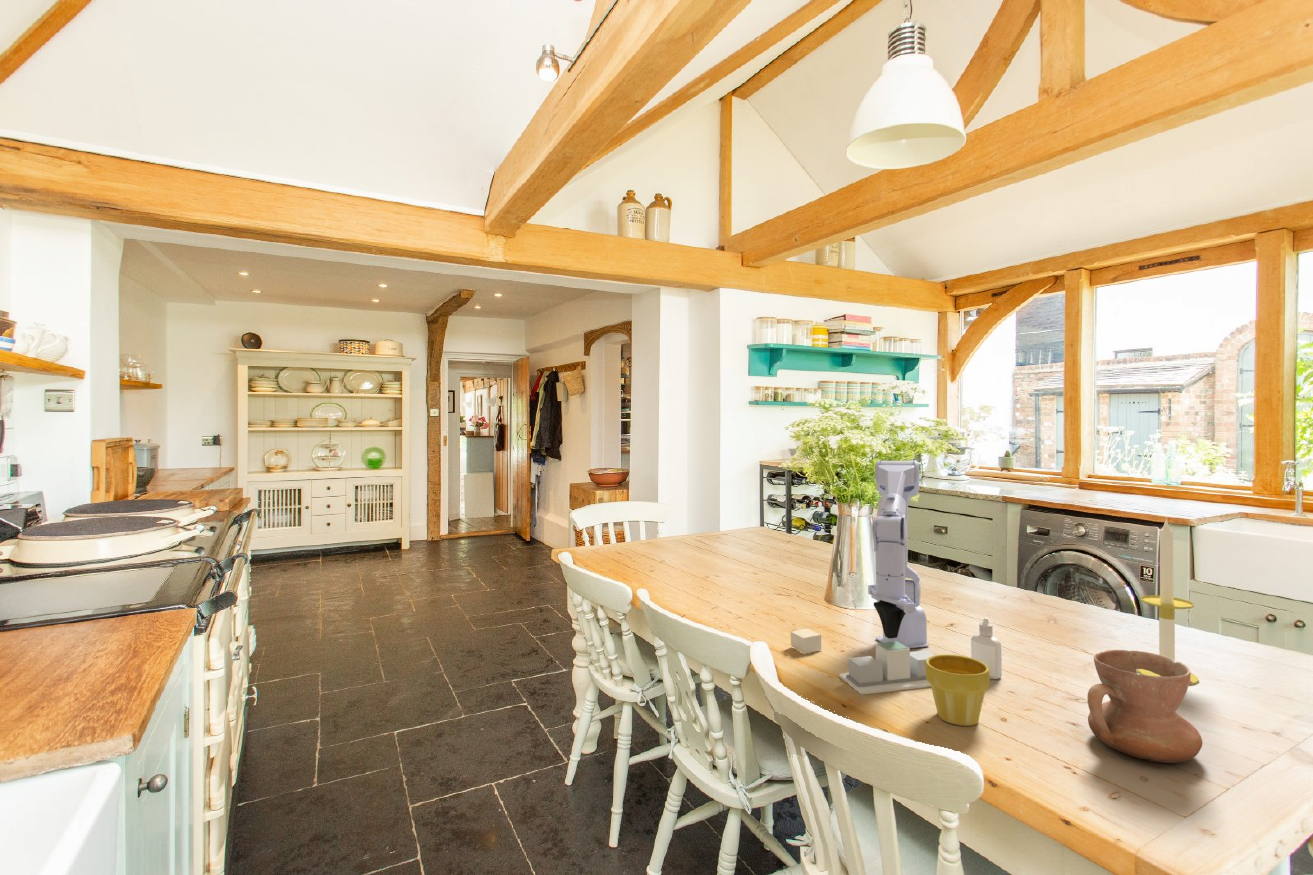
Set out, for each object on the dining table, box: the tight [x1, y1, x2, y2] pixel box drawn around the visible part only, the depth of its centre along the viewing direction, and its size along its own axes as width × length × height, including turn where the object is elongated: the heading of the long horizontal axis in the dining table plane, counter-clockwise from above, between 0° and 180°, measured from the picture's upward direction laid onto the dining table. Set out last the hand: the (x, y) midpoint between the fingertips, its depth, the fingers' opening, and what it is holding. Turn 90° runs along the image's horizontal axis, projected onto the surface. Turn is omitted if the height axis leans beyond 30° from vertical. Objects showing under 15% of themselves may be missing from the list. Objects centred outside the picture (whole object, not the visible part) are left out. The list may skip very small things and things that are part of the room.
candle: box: [1136, 518, 1200, 686], centre depth 128 cm, size 10×10×32 cm
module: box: [875, 641, 911, 680], centre depth 128 cm, size 5×4×6 cm
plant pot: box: [926, 653, 991, 727], centre depth 112 cm, size 10×10×10 cm
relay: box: [790, 628, 822, 655], centre depth 147 cm, size 5×5×4 cm
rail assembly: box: [838, 649, 935, 696], centre depth 128 cm, size 20×9×5 cm, turn 101°
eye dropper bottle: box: [970, 617, 1003, 680], centre depth 130 cm, size 4×6×12 cm
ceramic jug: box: [1087, 649, 1203, 764], centre depth 100 cm, size 18×14×14 cm
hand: (891, 637), depth 131 cm, fingers closed
